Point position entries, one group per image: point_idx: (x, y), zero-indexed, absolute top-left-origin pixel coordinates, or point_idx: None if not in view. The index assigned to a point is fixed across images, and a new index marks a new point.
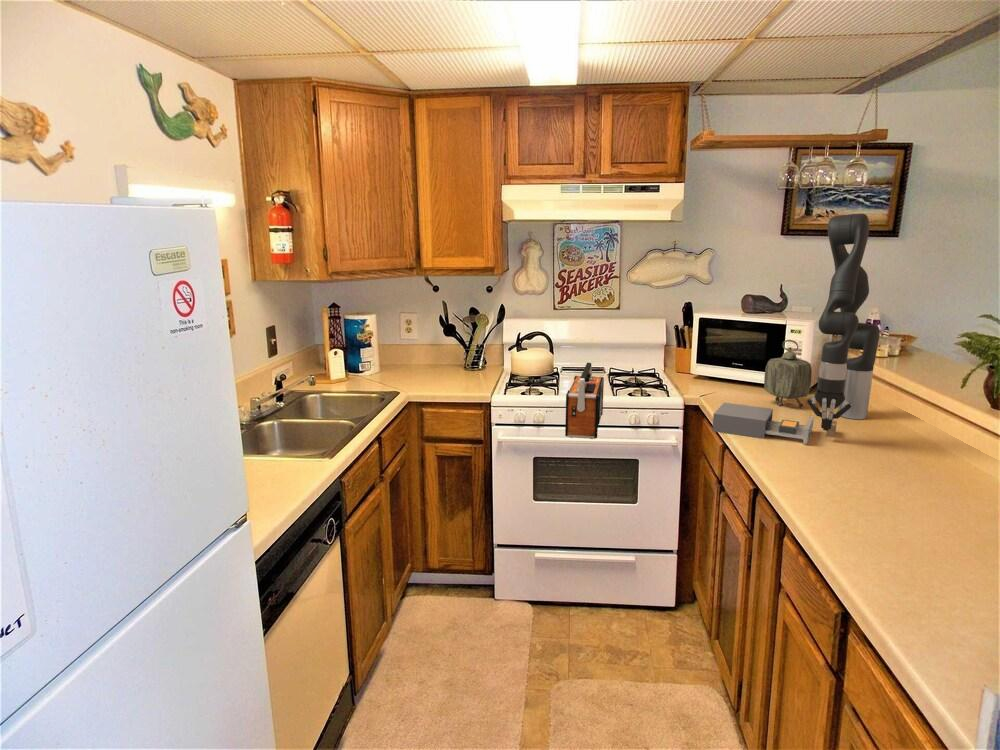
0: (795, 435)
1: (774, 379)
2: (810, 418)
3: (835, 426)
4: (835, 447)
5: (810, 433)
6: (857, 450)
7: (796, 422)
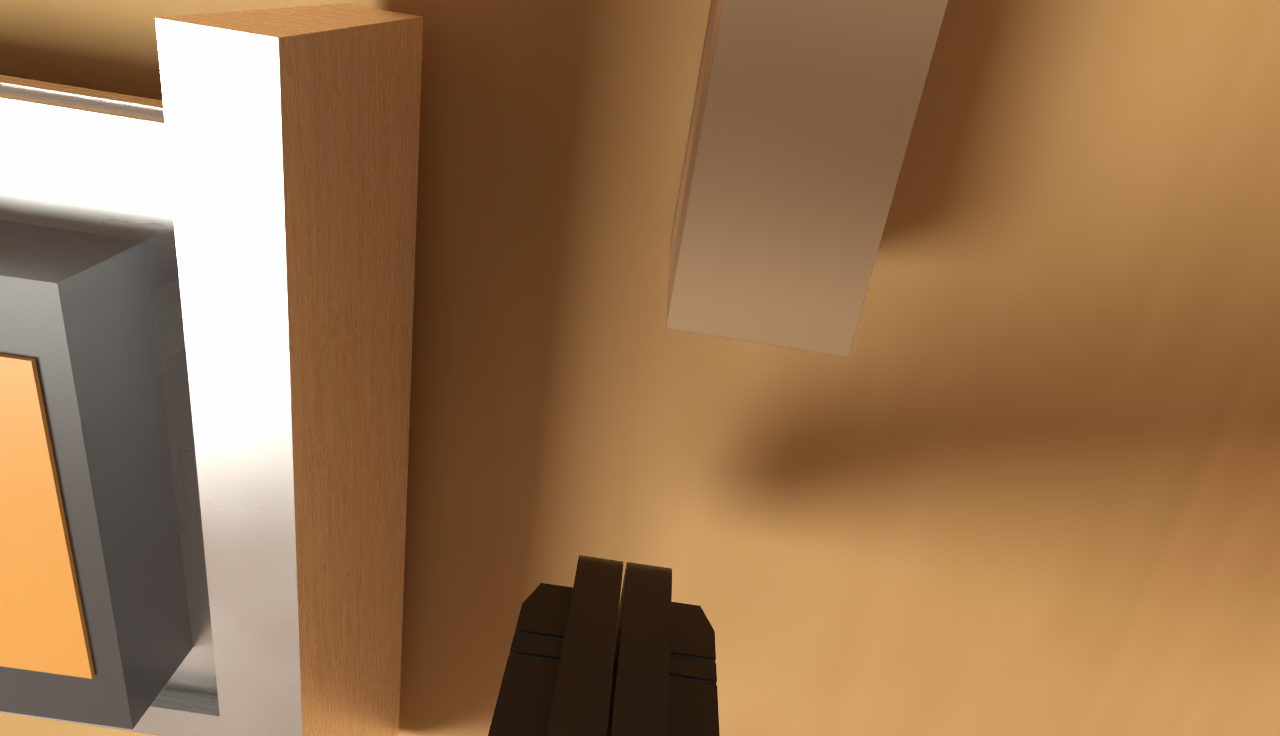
0: (198, 732)
1: None
2: (236, 401)
3: (843, 342)
4: (744, 704)
5: (396, 428)
6: (1004, 732)
7: (24, 386)
